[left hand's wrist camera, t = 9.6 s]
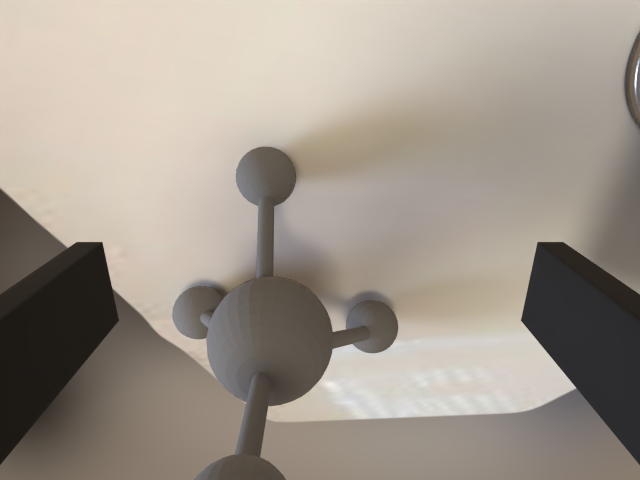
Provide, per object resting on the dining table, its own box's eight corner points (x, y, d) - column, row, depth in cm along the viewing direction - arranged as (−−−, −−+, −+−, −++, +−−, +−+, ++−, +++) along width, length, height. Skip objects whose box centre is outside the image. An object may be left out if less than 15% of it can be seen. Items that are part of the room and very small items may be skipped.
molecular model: (393, 134, 39) (574, 278, 11) (392, 329, 47) (496, 691, 20) (150, 149, 40) (-246, 322, 12) (190, 340, 48) (11, 706, 20)
